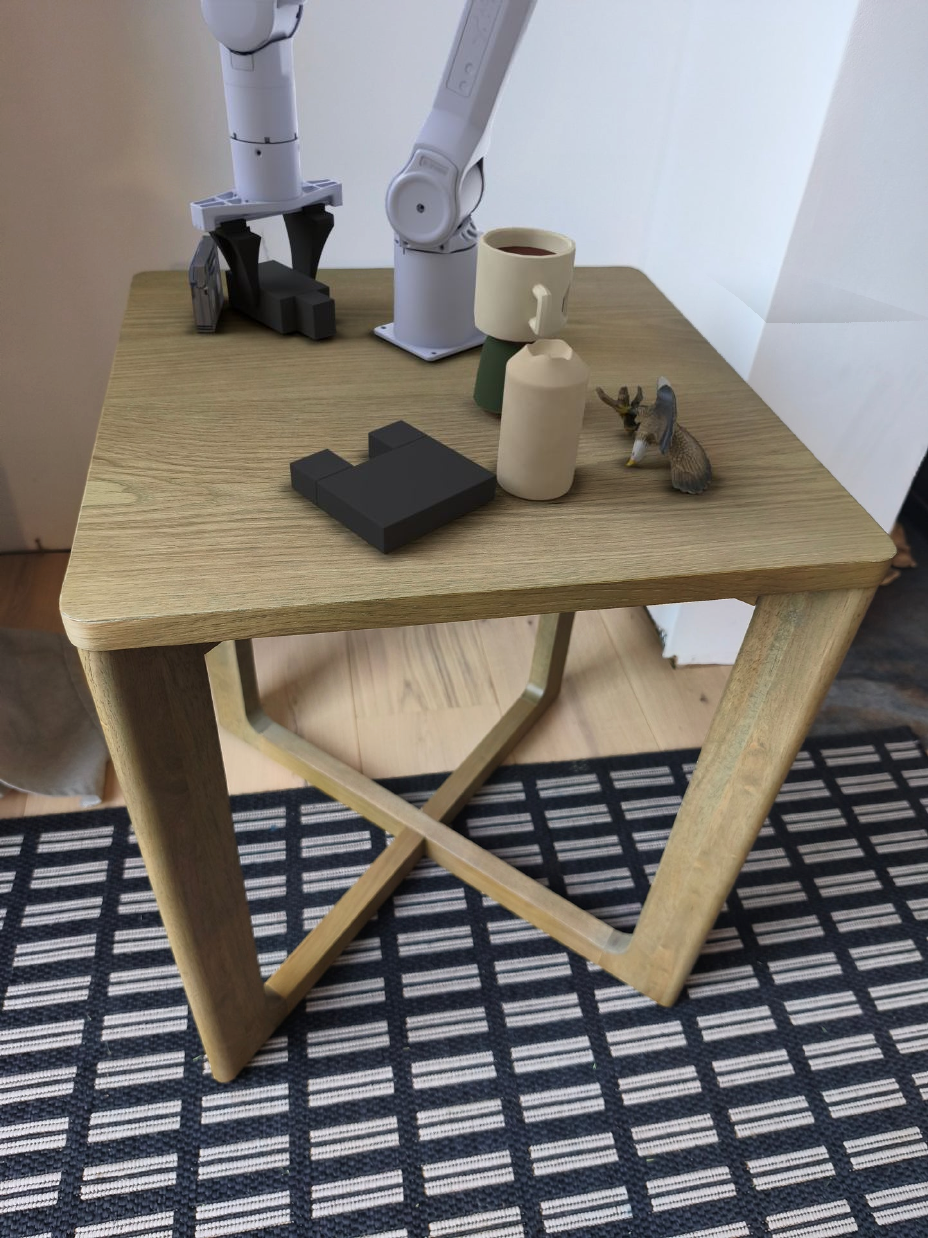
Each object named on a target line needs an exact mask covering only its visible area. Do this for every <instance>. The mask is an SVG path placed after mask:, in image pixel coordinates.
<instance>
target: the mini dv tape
mask: <svg viewBox="0 0 928 1238" xmlns="http://www.w3.org/2000/svg"><path fill="white" fill-rule="evenodd" d="M221 273H222V272H221V266H220V257H219V248H218V246H217V245H216V243H215V241H214V240H213V238H212V237H211V236H210V235H208V234H207V235H201V238H200V240H199V243H198V245H197V247H196V249H195V252H194V255H193V258H192V260H191V262H190V266H189V270H188V281H189V287H190V289H189V290H190V294H191V301H192V302H191V303H192V308H193V309H192V310H193V315H194V321H195V322H194V323H195V329H196V333H215V331H216V328H217V324H218V321H219V317H220V314H221V311H222V308H223V304H224V300H225V297H224V289H223V280H222V274H221Z"/></svg>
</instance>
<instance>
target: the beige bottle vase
mask: <svg viewBox="0 0 928 1238" xmlns="http://www.w3.org/2000/svg"><path fill="white" fill-rule="evenodd" d="M590 376H591V370H590V368H589V366H588V365H587V364H586V362H585V361H584V360H583V359H582V358H581V356H580V355H579V354H577V353H576V351H575V350H574V349H573V348H572V347H571V346H569V344H568V343H567V342H566V341H565V340H563V339H552V338H549V339H540V340H538V341H536V342H535V343H534V344H527V345H526V346H525V347H524V348H523V349H521V350H520V351H519V352H518V353H516V354H515V355H514V356H513V357H512V358H510V359H509V360H508V362H507V365H506V374H505V385H504V396H503V407H502V413H501V420H500V430H499V442H498V449H497V450H498V452H497V461H496V462H497V463H496V475H497V483H498V485H499V486H500V487H501V488H502V489H503V490H504V491H506V492H507V493H509V494H511V495H513V496H514V497H518V498H521V499H525V500H526V499H527V500H533V501H547V500H553V499H557V498H560V497H562V496H564V495H565V494H566V493H568V492H569V491H570V489H571V487H572V484H573V481H574V476H575V471H576V470H575V469H576V463H577V459H578V458H577V457H578V451H579V445H580V441H581V433H582V426H583V421H584V416H585V415H584V413H585V408H586V402H587V396H588V389H589V383H590Z"/></svg>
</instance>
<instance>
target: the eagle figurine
mask: <svg viewBox="0 0 928 1238" xmlns="http://www.w3.org/2000/svg"><path fill="white" fill-rule="evenodd" d="M656 385H657V386H656V398H655V401H654V403H651V404H650V405H646V404H641V402H642V401H643V400H644V395H643V388H642V387H641V386H640V384H638V385H637V387H636V389H637V391H636V395H635V396H634V398H633V399H632V400H631V399H630V398H631V397H630V393H629V388H628V386H627V385H625V386H621V387H620V388H619V390H618V392H617V399H614V398H612V397H611V396H609V395H608V394H607V393H606V392H605V391H604V390H603V389H602V387H600V386H596V387H595V391H596V394H597V397H598V398H599V400H601V402H603V403H604V404H605V405H606V406H609V407H611V408H612V409H613V410H614V412H615V413H617V414H618V417H620V419H621V421H622V424H623V429H624V432H625V433H626V437H628V438H632V437H633V435H634V434H635V432H636V435H635V440H634V443H633V448H632V452H631V454H630V459H629V461H628V462H627V463H626V466H627V467H631V466H633V465H634V464H636V463H638V462H641V460H643V458H644V456H645V454H646V453H647V451H648V449H649V448H650V447H651V445H654V444H655V445H658V446H659V452H660V454H661V455H662V456H665V455H666V456H667V459H668V461H669V464H670V476H671V483H672V487H673V488H674V489H679V490H680V491H681V492H682V493H686V492H688V493H689V494H691V495H696V494H702V493H703V490H706V489H708V484H710V483H711V479H712V478H713V471H712V465H711V463H710V462H711V461H710V459H709V457H708V456H707V453H706V451H705V449H704V448H703V447H702V445H701V444H700V443H699V441H698V439H696V438H695V436H693V435H692V434H691V433H690V431H688V429H686V428H685V427H684V426H682V425H681V424H680V423H679V422H678V406H677V397H676V393H675V390H673V388H672V384H671V382H670V381H669V380H668V379H667V377H664V376H662V375H660V376H658V378H657V384H656ZM630 401H631V402H630ZM637 417H638V418H639V419H640V421H638V422H637V421H635V420H636V418H637Z"/></svg>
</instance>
